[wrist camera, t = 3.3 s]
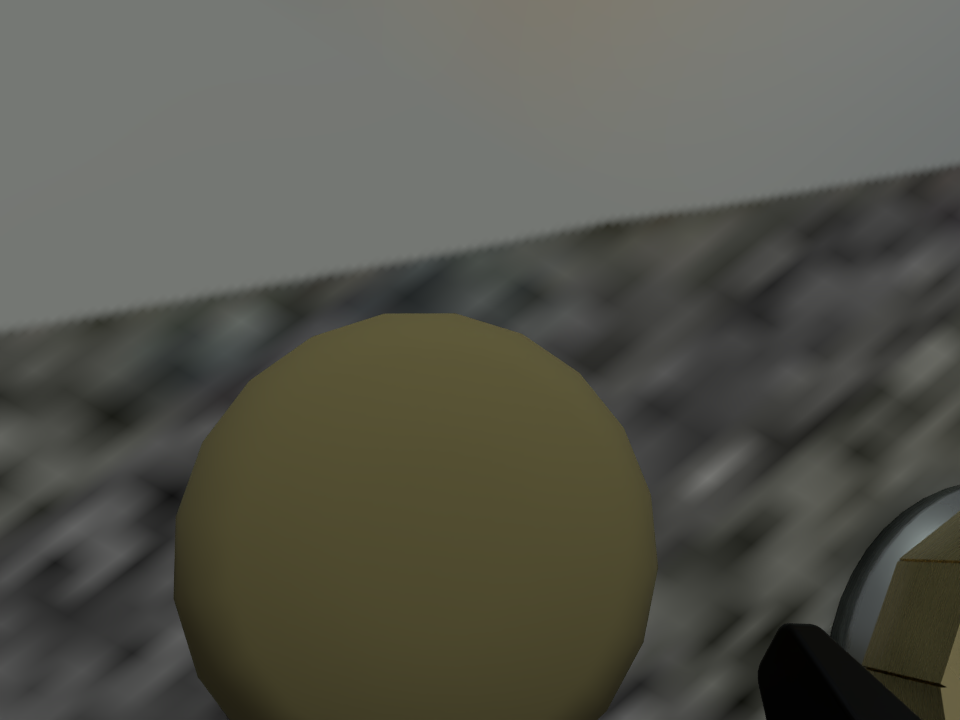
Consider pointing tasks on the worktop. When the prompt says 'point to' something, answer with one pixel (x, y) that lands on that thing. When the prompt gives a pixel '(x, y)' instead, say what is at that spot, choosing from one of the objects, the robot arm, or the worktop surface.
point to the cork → (415, 533)
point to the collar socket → (910, 607)
